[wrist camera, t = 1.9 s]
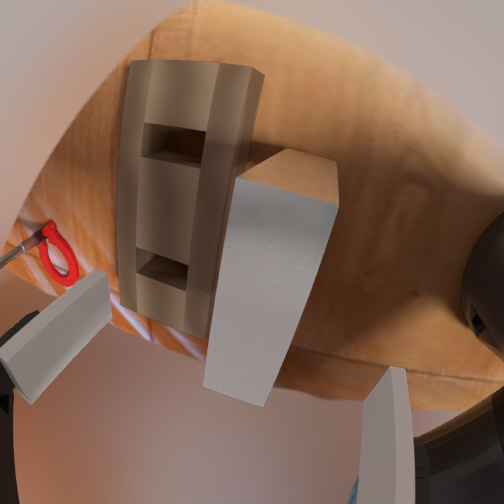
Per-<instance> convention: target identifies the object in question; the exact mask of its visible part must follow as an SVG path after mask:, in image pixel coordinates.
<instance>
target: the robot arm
mask: <svg viewBox="0 0 504 504" xmlns="http://www.w3.org/2000/svg"><path fill="white" fill-rule="evenodd" d="M461 303H462V309H463V312H464V315H465V318H466V320H467V322H468V324H469V326H470V328H471V330H472V332H473V333H474V335H475V336H476V337H477V339H478V340H479V341H480V342H482V343H483V344H484V345H485V346H486V347H487V348H489V349H490V350H491V351H492V352H493V353H494V354H496V355H497V356H498V357H499V358H500V359H501V360H502V361H504V213H503V214H502V215H501V216H500V217H498V218H497V219H496V220H495V221H494V222H493V223H492V224H491V225H490V226H489V228H488V229H487V230H486V231H485V232H484V234H483V235H482V237H481V238H480V240H479V241H478V243H477V244H476V246H475V248H474V250H473V252H472V254H471V256H470V258H469V261H468V263H467V266H466V269H465V273H464V276H463V281H462V288H461ZM111 318H112V310H111V302H110V293H109V283H108V274H107V273H105V272H103V271H101V270H98V269H94V270H93V271H92V272H90V273H89V274H88V275H87V276H85V277H84V278H83V279H81V280H80V281H79V282H78V283H76V284H75V285H74V286H72V287H71V288H70V289H69V290H67V291H66V292H65V293H64V294H62V295H61V296H60V297H59V298H57V299H56V300H55V301H54V302H53V303H51V304H50V305H49V306H48V307H46V308H45V309H44V310H43V311H42V312H39V311H34V312H32V313H30V314H27V315H26V316H25V317H24V318H22V319H21V320H20V321H19V323H17V324H15V325H14V326H13V328H11V329H10V330H8V331H7V332H6V333H5V334H4V335H3V336H2V337H1V338H0V504H20V503H19V497H18V490H17V483H16V475H15V463H14V447H13V401H14V393H13V389H14V388H15V387H16V389H17V391H18V392H19V394H20V395H21V396H22V397H23V398H24V399H25V400H27V401H28V402H29V403H30V404H32V403H33V402H34V401H35V400H36V399H37V398H38V397H39V395H40V394H41V393H42V392H43V391H44V390H45V389H46V388H47V386H48V385H49V384H50V383H51V382H52V381H53V380H54V379H55V377H56V376H57V375H58V374H59V373H60V372H61V371H62V370H63V369H64V368H65V367H66V365H67V364H68V363H69V362H70V361H71V360H72V359H73V358H74V357H75V356H76V355H77V354H78V353H79V351H80V350H81V349H82V348H83V347H84V346H85V345H86V344H87V343H88V342H89V341H90V340H91V339H92V338H93V337H94V336H95V335H96V334H97V333H98V332H99V330H101V329H102V328H103V326H104V325H105V324H106V323H107V322H108V321H109V320H110V319H111ZM362 417H363V418H362V441H361V458H360V471H359V476H358V477H357V479H356V481H355V483H354V485H353V487H352V490H351V492H350V495H349V501H348V504H504V386H503V387H502V388H500V389H499V390H497V391H496V392H494V393H493V394H491V395H490V396H488V397H487V398H485V399H484V400H482V401H481V402H479V403H478V404H476V405H475V406H473V407H472V408H470V409H468V410H467V411H465V412H463V413H462V414H460V415H459V416H457V417H455V418H453V419H452V420H450V421H448V422H446V423H444V424H442V425H441V426H439V427H437V428H435V429H433V430H431V431H429V432H427V433H425V434H423V435H421V436H419V437H413V429H412V419H411V409H410V400H409V392H408V385H407V378H406V371H405V369H403V368H399V367H394V366H390V367H389V368H388V370H387V371H386V372H385V374H384V375H383V376H382V378H381V379H380V381H379V382H378V383H377V385H376V386H375V387H374V388H373V390H372V391H371V392H370V394H369V395H368V396H367V397H366V399H365V400H364V401H363V414H362Z"/></svg>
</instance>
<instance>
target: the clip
mask: <svg viewBox="0 0 504 504" xmlns="http://www.w3.org/2000/svg"><path fill="white" fill-rule="evenodd" d="M338 208H339V192H338V174H337V161H333V160H330V159H327V158H323V157H320V156H316V155H313V154H309V153H305V152H302V151H298V150H294V149H290V148H286V149H285V150H283V151H281V152H279V153H277V154H276V155H274V156H272V157H270V158H268V159H267V160H265V161H263V162H261V163H260V164H258V165H256V166H255V167H253V168H251V169H249V170H248V171H246V172H244V173H243V174H241V175H239V176H237V177H236V180H235V185H234V191H233V196H232V202H231V207H230V213H229V219H228V224H227V230H226V236H225V242H224V248H223V254H222V260H221V266H220V272H219V278H218V284H217V291H216V297H215V303H214V310H213V316H212V323H211V330H210V337H209V343H208V350H207V357H206V365H205V372H204V379H203V387H205V388H208V389H210V390H213V391H216V392H218V393H221V394H224V395H227V396H230V397H232V398H235V399H238V400H241V401H244V402H247V403H250V404H254V405H257V406H260V407H264V405H265V403H266V400H267V398H268V396H269V394H270V391H271V389H272V387H273V384H274V382H275V380H276V377H277V375H278V373H279V370H280V368H281V366H282V363H283V361H284V358H285V356H286V353H287V351H288V349H289V346H290V344H291V341H292V339H293V336H294V334H295V331H296V328H297V326H298V323H299V321H300V318H301V315H302V313H303V310H304V308H305V305H306V302H307V299H308V297H309V294H310V291H311V289H312V286H313V283H314V280H315V277H316V275H317V272H318V269H319V266H320V263H321V260H322V257H323V254H324V251H325V248H326V245H327V242H328V239H329V236H330V233H331V230H332V227H333V224H334V221H335V218H336V215H337V211H338Z"/></svg>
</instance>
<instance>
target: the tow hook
mask: <svg viewBox="0 0 504 504" xmlns="http://www.w3.org/2000/svg"><path fill="white" fill-rule="evenodd" d="M47 238H48V240H49V242H50V243H51V244H53V245H55V246H56V247H57V248H58V249H59V250H60V251H61V252H62V253H63V255H64V257H65V259H66V261H67V264H68V267H69V274H68V276H64V275H62V274H60V273H59V272H58V271H57V270H56V269H55V268H54V267H53V265H52V263H51V262H50V259H49V257H48V252H47V245H46V243H45V241H44V240H46V239H47ZM36 246H37V248H38V250H39V254H40V258H41V261H42V263H43V265H44V267H45V269H46V270H47V272H48V273H49V274H50V276H51V277H52V278H53V279H54V280H55V281H56V282H58V283H59V284H61V285H63V286H66V287H70V286H72V285H74V284H75V283H76V282H77V280H78V277H79V268H78V264H77V260H76V258H75V256H74V253H73V252H72V250H71V248H70V247H69V245H68V244H67V243H66V242H65V240H64V239H62V238H61V237H60V236H59V235H58V233H57V231H56V224H55V223H54V222H50V223H48V224H47V225H46V226H45V227H43V228H41V229H40V230H38V231H37V232H35V233H34V234H33V235H32V236H30V237H29V238H27V239H26V240H24V241H23V242H21V243H20V244H19V246H17V247H16V248H14V249H13V250H11V251H10V252H8V253H7V254H5V255H4V256H2V257H1V258H0V269H1V268H2V267H4V266H5V265H7V264H8V263H9V262H11V261H12V260H14V259H15V258H16V257H18V256H19V255H21V254H22V253H23V254H24V253H26V252H27V251H28V250H30V249H31V248H33V247H36Z"/></svg>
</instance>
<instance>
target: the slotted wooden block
mask: <svg viewBox="0 0 504 504" xmlns="http://www.w3.org/2000/svg"><path fill="white" fill-rule="evenodd" d="M264 77H265V75H264V74H262V73H260V72H259V71H257V70H256V69H254V68H252V67H248V66H241V65H232V64H223V63H212V62H198V61H177V60H135V61H131V64H130V69H129V75H128V81H127V87H126V94H125V101H124V109H123V117H122V126H121V135H120V147H119V160H118V178H117V263H118V281H119V294H120V305H121V306H123V307H125V308H128V309H130V310H132V311H134V312H136V313H139V314H141V315H143V316H146V317H148V318H150V319H152V320H155V321H157V322H159V323H162V324H164V325H167V326H169V327H172V328H174V329H176V330H179V331H181V332H184V333H186V334H189V335H192V336H194V337H197V338H199V339H202V340H205V338H206V337H207V335H208V333H209V332H210V330H211V323H212V316H213V310H214V303H215V297H216V291H217V284H218V278H219V272H220V266H221V260H222V254H223V248H224V242H225V236H226V230H227V224H228V219H229V213H230V207H231V202H232V196H233V191H234V185H235V180H236V177H237V176H239V175H241V174H243V173H244V172H245V169H246V164H247V159H248V154H249V149H250V144H251V139H252V134H253V129H254V124H255V119H256V115H257V110H258V105H259V100H260V96H261V91H262V86H263V82H264ZM169 126H175V127H181V128H188V129H194V130H200V131H206V136H205V142H204V149H203V155H202V157H198V156H193V155H188V154H183V153H178V152H173V151H168V150H166V144H167V137H168V129H169ZM157 254H158V255H157ZM159 255H161V256H159ZM162 256H163V257H162ZM165 257H166V258H165ZM168 258H169V259H168ZM170 259H172V260H170ZM173 260H175V261H173ZM176 261H178V262H176ZM179 262H181V263H179ZM182 263H184V264H182ZM185 264H187V265H185Z"/></svg>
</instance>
